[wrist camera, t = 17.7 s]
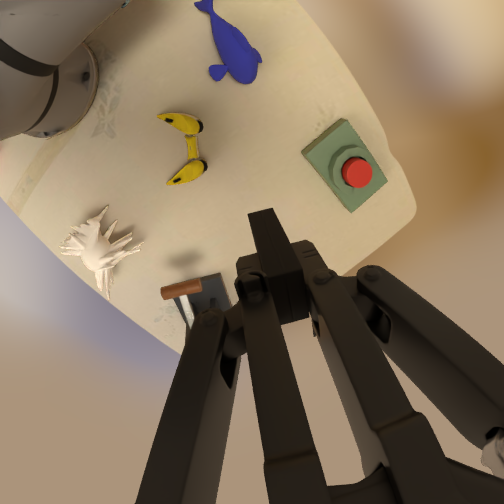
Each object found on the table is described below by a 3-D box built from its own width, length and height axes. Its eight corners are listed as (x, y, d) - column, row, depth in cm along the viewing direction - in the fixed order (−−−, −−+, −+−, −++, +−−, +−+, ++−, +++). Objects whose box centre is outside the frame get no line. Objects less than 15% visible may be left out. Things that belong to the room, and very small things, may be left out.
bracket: (169, 285, 48) (159, 345, 36) (220, 272, 48) (224, 333, 36) (193, 333, 54) (191, 392, 42) (238, 323, 54) (246, 382, 42)
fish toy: (265, 76, 34) (291, 66, 29) (218, 98, 33) (238, 88, 27) (217, -7, 27) (235, -29, 21) (167, 10, 26) (178, -14, 20)
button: (336, 169, 37) (341, 172, 36) (357, 151, 36) (362, 154, 35) (351, 189, 39) (356, 193, 38) (371, 172, 38) (377, 176, 37)
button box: (300, 152, 39) (309, 157, 36) (340, 118, 37) (352, 120, 34) (345, 208, 45) (356, 218, 41) (381, 177, 42) (394, 184, 39)
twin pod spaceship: (215, 178, 39) (205, 186, 36) (175, 179, 40) (163, 187, 37) (208, 107, 34) (196, 109, 31) (166, 112, 35) (152, 115, 32)
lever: (163, 284, 39) (158, 290, 37) (199, 275, 39) (197, 280, 37) (192, 363, 42) (190, 372, 40) (226, 357, 42) (226, 365, 40)
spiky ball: (119, 188, 39) (97, 202, 32) (163, 251, 44) (151, 277, 36) (72, 227, 41) (47, 247, 33) (113, 282, 46) (97, 310, 38)
